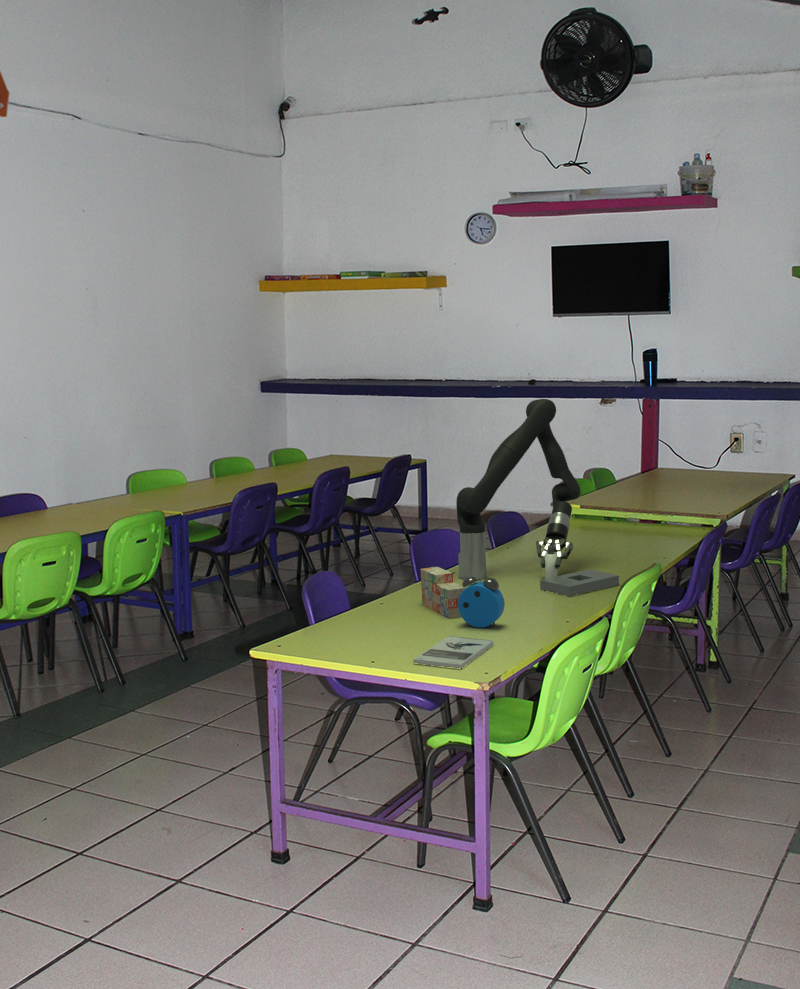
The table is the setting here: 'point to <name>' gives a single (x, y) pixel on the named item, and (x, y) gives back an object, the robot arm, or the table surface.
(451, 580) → the stack of blocks
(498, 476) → the robot arm
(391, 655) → the table surface
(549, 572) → the plug
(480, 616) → the alarm clock
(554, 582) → the socket plate
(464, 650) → the book
